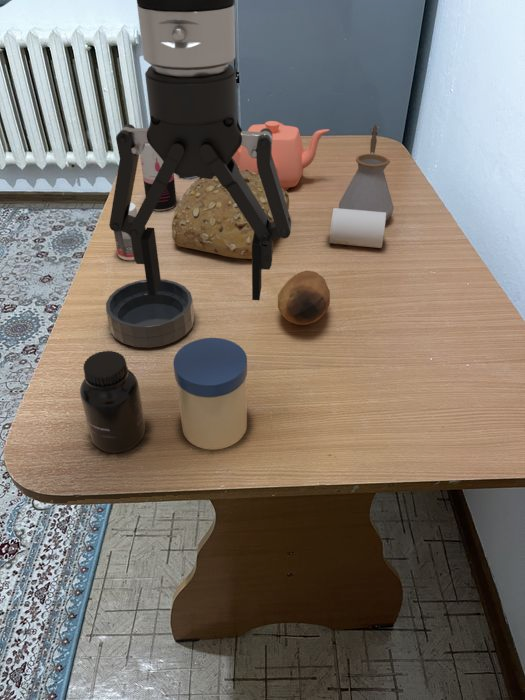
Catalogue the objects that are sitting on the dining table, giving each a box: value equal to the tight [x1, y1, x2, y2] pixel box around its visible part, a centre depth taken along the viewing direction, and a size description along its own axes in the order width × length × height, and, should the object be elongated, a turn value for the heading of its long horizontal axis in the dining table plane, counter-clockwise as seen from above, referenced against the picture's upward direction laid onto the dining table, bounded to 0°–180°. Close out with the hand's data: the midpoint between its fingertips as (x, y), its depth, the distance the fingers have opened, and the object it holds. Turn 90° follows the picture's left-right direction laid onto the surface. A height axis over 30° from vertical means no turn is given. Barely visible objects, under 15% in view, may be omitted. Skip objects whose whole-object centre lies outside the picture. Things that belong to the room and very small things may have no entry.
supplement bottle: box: [79, 350, 146, 453], centre depth 69 cm, size 7×7×12 cm
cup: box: [329, 207, 387, 249], centre depth 110 cm, size 7×7×10 cm
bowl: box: [105, 278, 195, 349], centre depth 89 cm, size 13×13×4 cm
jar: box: [176, 378, 248, 450], centre depth 70 cm, size 8×8×10 cm
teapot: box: [232, 120, 330, 191], centre depth 131 cm, size 18×18×14 cm
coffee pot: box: [338, 124, 395, 221], centre depth 120 cm, size 21×12×15 cm, turn 169°
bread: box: [171, 169, 290, 260], centre depth 111 cm, size 24×21×12 cm
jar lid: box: [172, 337, 248, 397], centre depth 67 cm, size 9×9×2 cm
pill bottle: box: [113, 202, 138, 261], centre depth 105 cm, size 5×5×10 cm
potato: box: [277, 270, 331, 326], centre depth 90 cm, size 8×13×8 cm
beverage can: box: [139, 143, 177, 212], centre depth 120 cm, size 7×7×15 cm
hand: (205, 290), depth 61 cm, fingers open, 10 cm apart
